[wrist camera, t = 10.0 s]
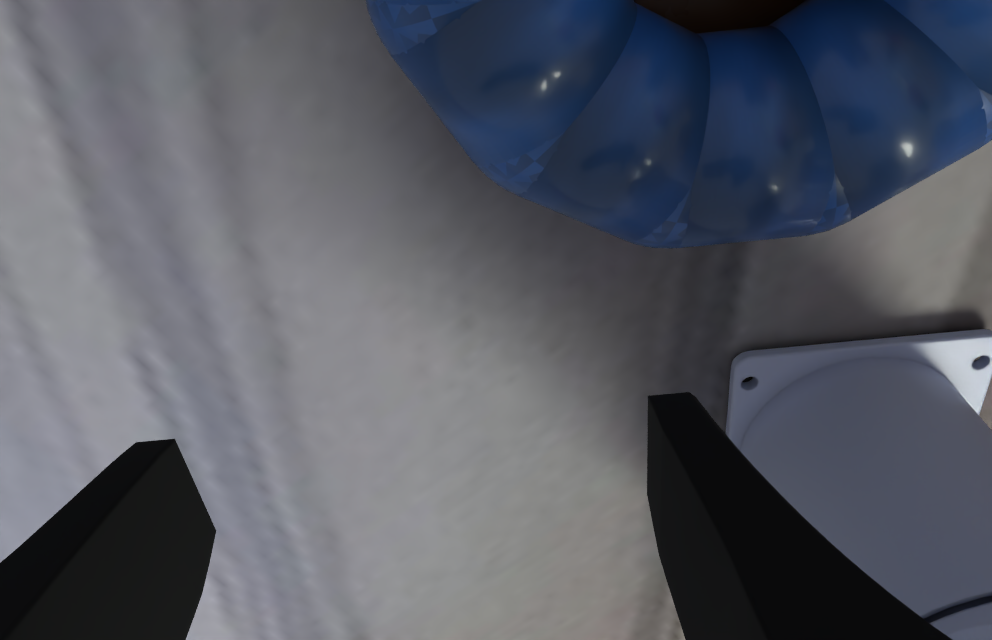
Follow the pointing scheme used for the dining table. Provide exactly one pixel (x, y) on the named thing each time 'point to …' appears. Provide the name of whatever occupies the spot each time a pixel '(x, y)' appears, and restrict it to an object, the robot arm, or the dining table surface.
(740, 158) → the blue swim ring
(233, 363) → the dining table surface
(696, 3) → the wooden peg stand
